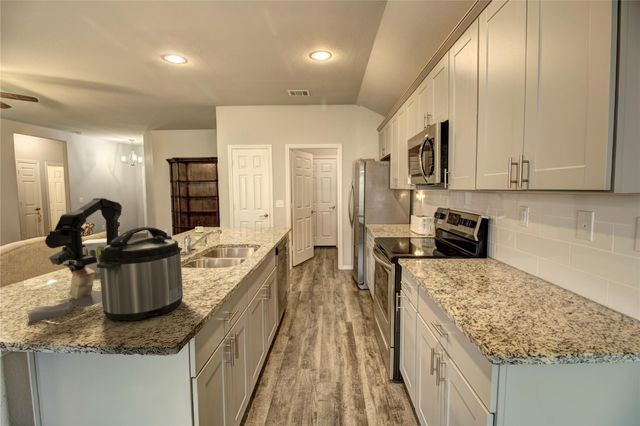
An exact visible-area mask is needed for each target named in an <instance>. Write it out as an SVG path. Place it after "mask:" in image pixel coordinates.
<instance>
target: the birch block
mask: <svg viewBox="0 0 640 426" xmlns="http://www.w3.org/2000/svg"><path fill="white" fill-rule="evenodd" d="M95 275H96V274H95V271H93V270H91V269H90V268H84V269H80V270H76V271H73V274H71V283H70V289H69V295H68V296H70V297H74V298H75V299H79V298H82V297H85V296H88V295H91V293H92V290H93V286H94V281H95Z"/></svg>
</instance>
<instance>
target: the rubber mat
mask: <svg viewBox="0 0 640 426" xmlns="http://www.w3.org/2000/svg"><path fill="white" fill-rule="evenodd" d="M68 302H70V303H72V304H73V305H76V306H81V307H82V306H84V307H92V306H94V305H97V304H99V303H101V302H102V293H101V291H99V290H93V289H92V293H91V295H88V296H85V297H82V298H79V299H75V298H74V297H72V296H70V297H68V298H64V299H61V300H58V301H57V303H68Z"/></svg>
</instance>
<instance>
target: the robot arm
mask: <svg viewBox="0 0 640 426" xmlns="http://www.w3.org/2000/svg"><path fill="white" fill-rule="evenodd" d="M122 210H123V207H122V204H121V203H120V202H118V201H113V200H109V199H107V198H104V197H95V198H92V200H91V201H89V202H88V203H86V204H83V206H82V207H80V208H78V209H77V210H73V211H69V212H67V213H64V214H62V215H60V217H59V220H58V222H57V224H56V226H55V228H54V230H50V231H49V233H48V235H46V237H45V239H44V242H45V245H46V247H48V248H49V249H56V248H57V249H58V248H61V247H62V248H61V251H58V252H56V253H54V254H52V255H51V256H49V257H48V259H49V261H50V263H52V265H56V266H59V265H63V266H64V267H66V268H68V269H69V271H70V273H71V275H73V271H76V270H80V269H84V268H85V266H86V265H89V264H93V263H97V258H96V257H95V256H86V254H83V247H85V245H82V242H83V235H82V233H84V232H85V231H86V229H85V228H83V227H82V226H83V225H85V223H87V218H89V217H90V216H92V215H93V214H95V213H96V212H97V211H100V212H101V216H102V217H103V219H104V220H105V231H106V233H105V234H106V236H105V237H106V238H105V239H107V245H110V242H111V241H112V240H114V239H115V238H116V237H118V236H119V218H120V217H121V215H122Z"/></svg>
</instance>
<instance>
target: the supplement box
mask: <svg viewBox="0 0 640 426" xmlns="http://www.w3.org/2000/svg"><path fill="white" fill-rule="evenodd" d="M82 245H85V247H83V254H86V256H95V257H96V258H97V263H93V264H89V265H86V266H85V268H90V269H91V270H93V271H95V275H97V274H99V275H100V268H97V264H98V263H99V255H100V254H101V248H102V247H104V246H107V239H106V238H96V239H87V240H85V241H82Z"/></svg>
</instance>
